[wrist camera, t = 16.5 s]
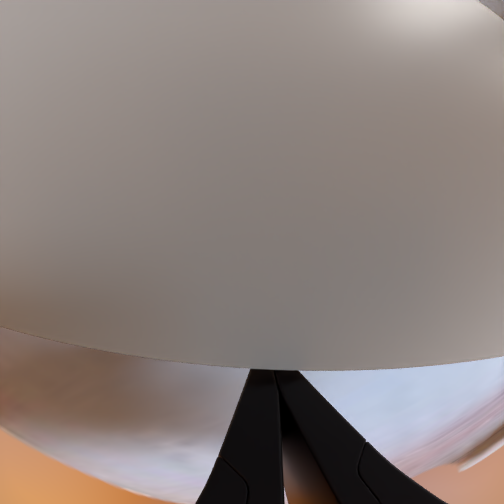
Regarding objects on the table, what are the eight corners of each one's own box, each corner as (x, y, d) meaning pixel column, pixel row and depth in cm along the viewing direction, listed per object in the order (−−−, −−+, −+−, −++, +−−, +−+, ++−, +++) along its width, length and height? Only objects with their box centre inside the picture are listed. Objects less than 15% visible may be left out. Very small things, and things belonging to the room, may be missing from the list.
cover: (601, 145, 6) (623, 154, 5) (539, 331, 10) (556, 348, 9) (-39, -17, 3) (-69, -25, 2) (-48, 283, 7) (-72, 307, 5)
